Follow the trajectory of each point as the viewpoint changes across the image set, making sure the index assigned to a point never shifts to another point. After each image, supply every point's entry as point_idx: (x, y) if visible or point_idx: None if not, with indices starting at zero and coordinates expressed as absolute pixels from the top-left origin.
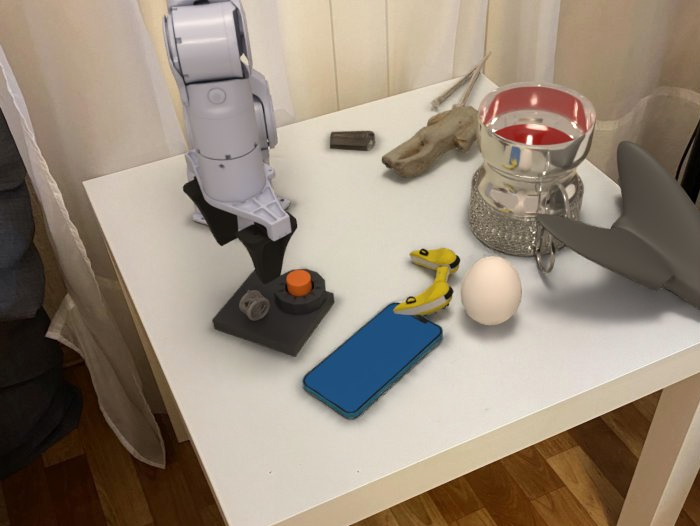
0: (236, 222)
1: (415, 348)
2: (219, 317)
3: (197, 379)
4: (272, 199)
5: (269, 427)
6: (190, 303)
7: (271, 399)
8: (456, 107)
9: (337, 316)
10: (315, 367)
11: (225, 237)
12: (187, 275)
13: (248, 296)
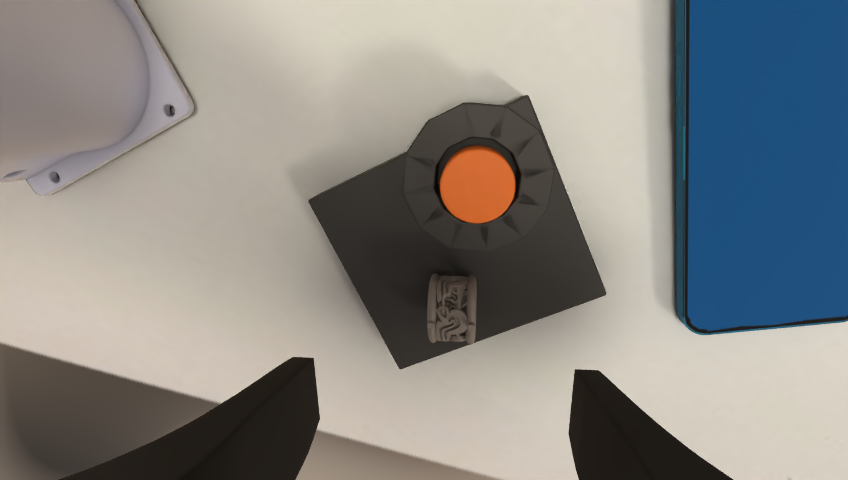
0: (282, 391)
1: None
2: (404, 355)
3: (499, 444)
4: None
5: (706, 424)
6: (305, 346)
7: (653, 383)
8: None
9: (570, 122)
10: (685, 286)
11: (307, 417)
12: (221, 304)
13: (443, 331)
